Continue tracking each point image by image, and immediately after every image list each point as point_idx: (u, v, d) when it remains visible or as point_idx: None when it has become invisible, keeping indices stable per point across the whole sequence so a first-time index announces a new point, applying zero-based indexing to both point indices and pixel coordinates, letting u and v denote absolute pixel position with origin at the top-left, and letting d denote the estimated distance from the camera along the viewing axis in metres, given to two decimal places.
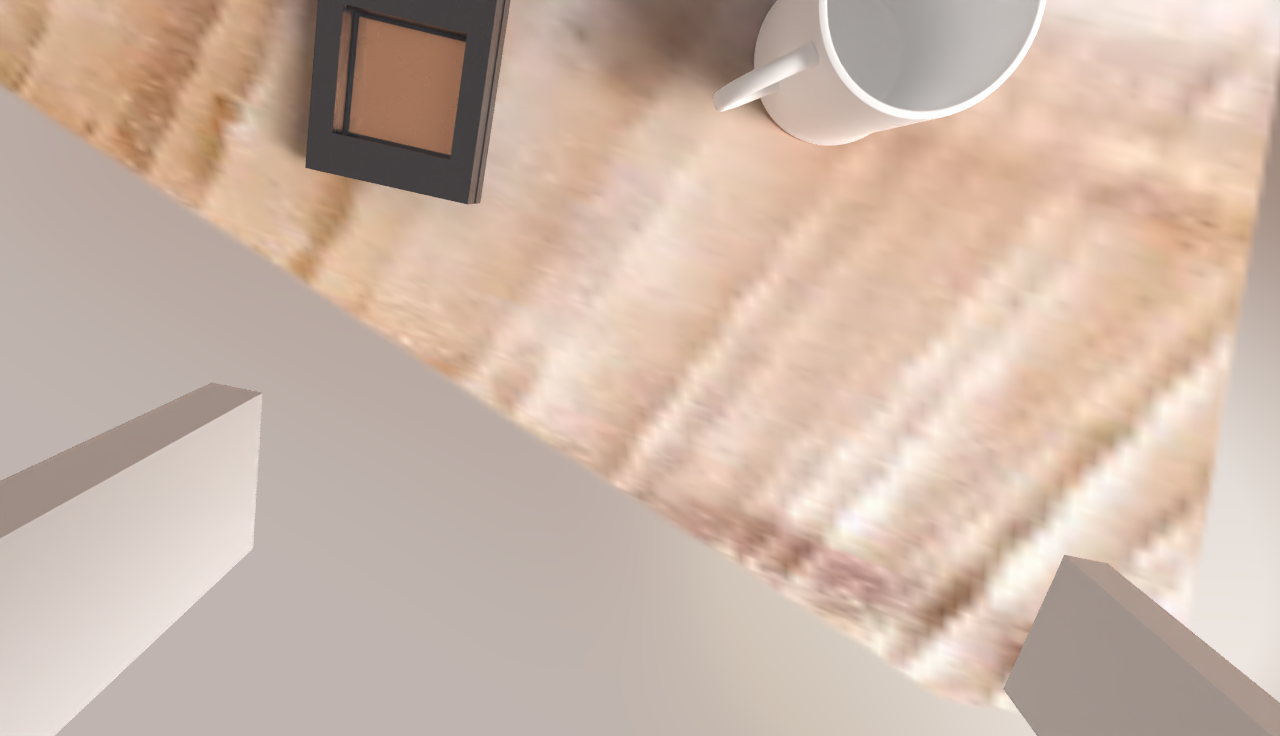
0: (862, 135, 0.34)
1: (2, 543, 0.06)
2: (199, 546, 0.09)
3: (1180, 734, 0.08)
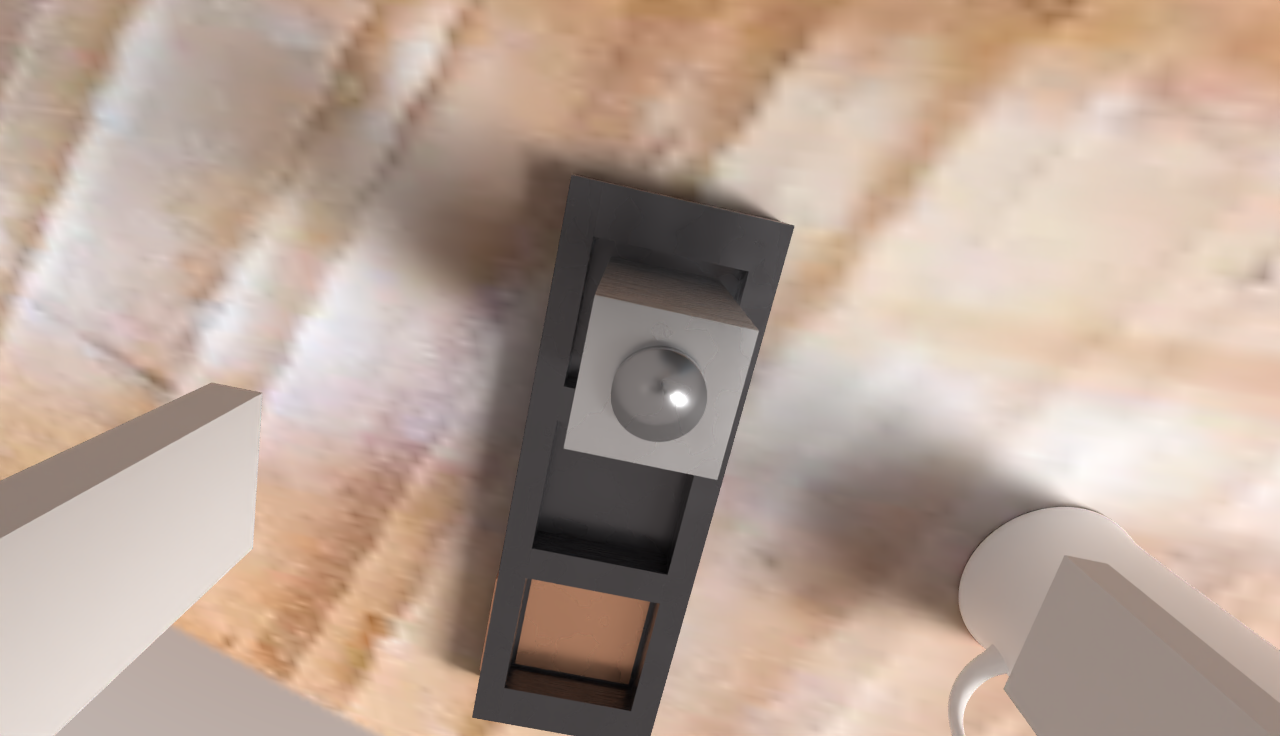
0: None
1: (2, 543, 0.06)
2: (199, 546, 0.09)
3: (1180, 734, 0.08)
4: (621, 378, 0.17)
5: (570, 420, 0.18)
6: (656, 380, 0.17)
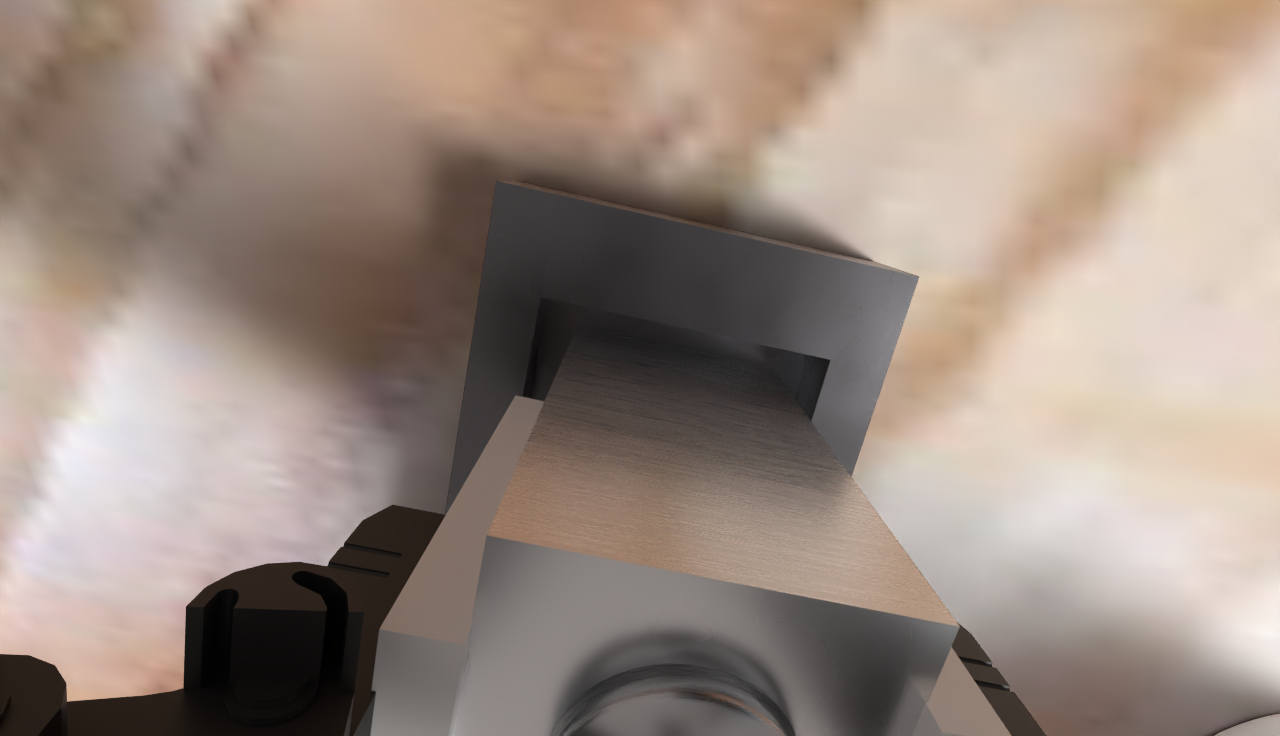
0: None
1: None
2: None
3: None
4: None
5: None
6: None
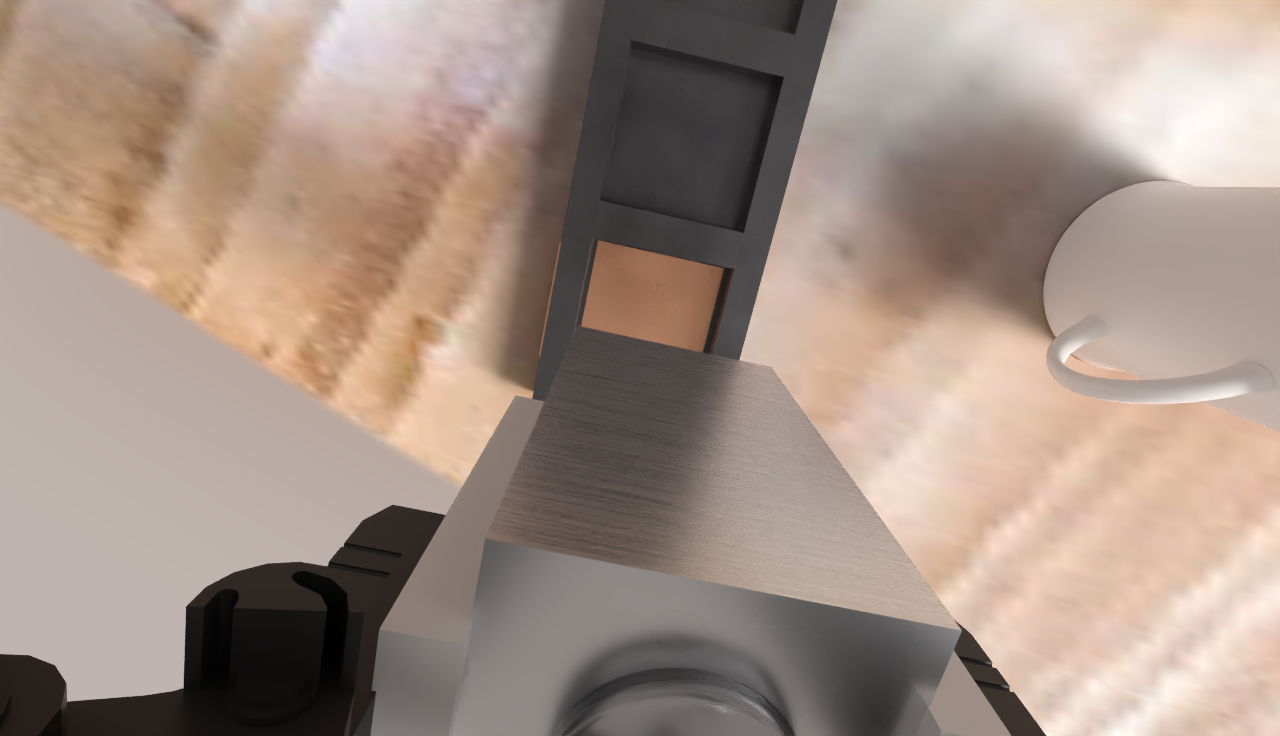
0: None
1: None
2: None
3: None
4: None
5: None
6: None
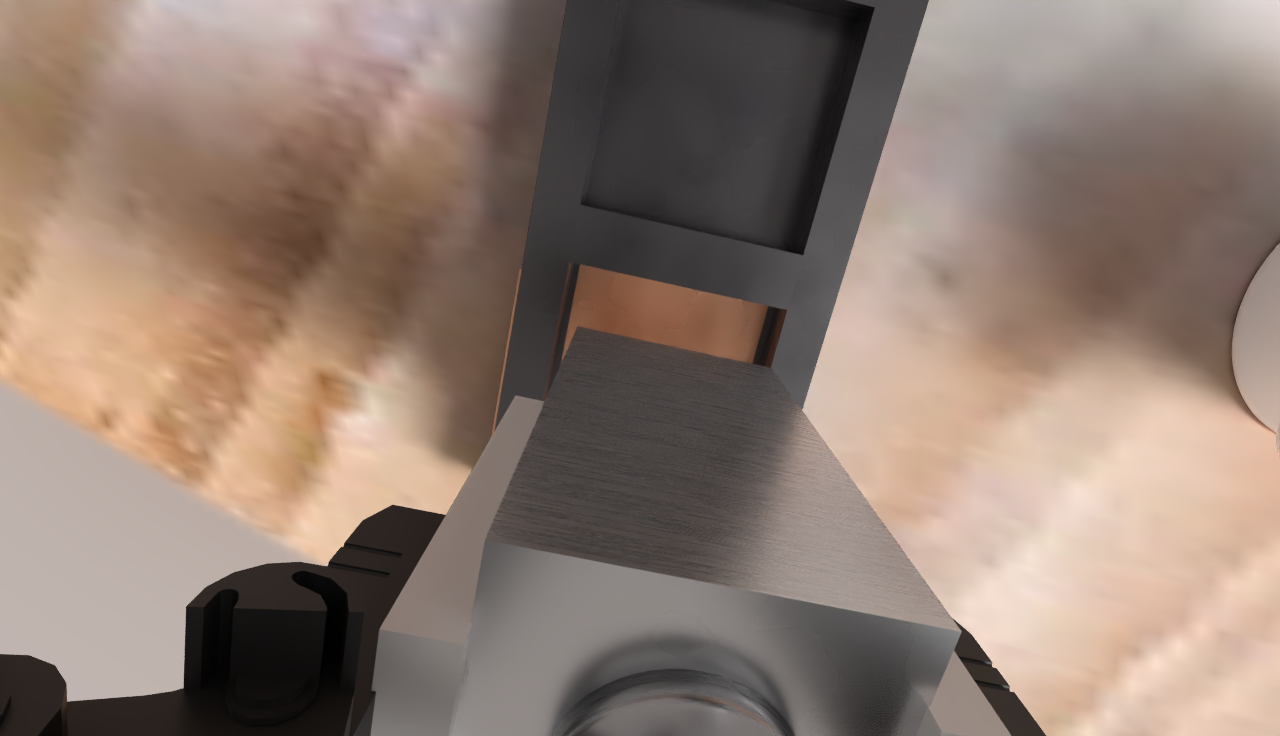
0: None
1: None
2: None
3: None
4: None
5: None
6: None
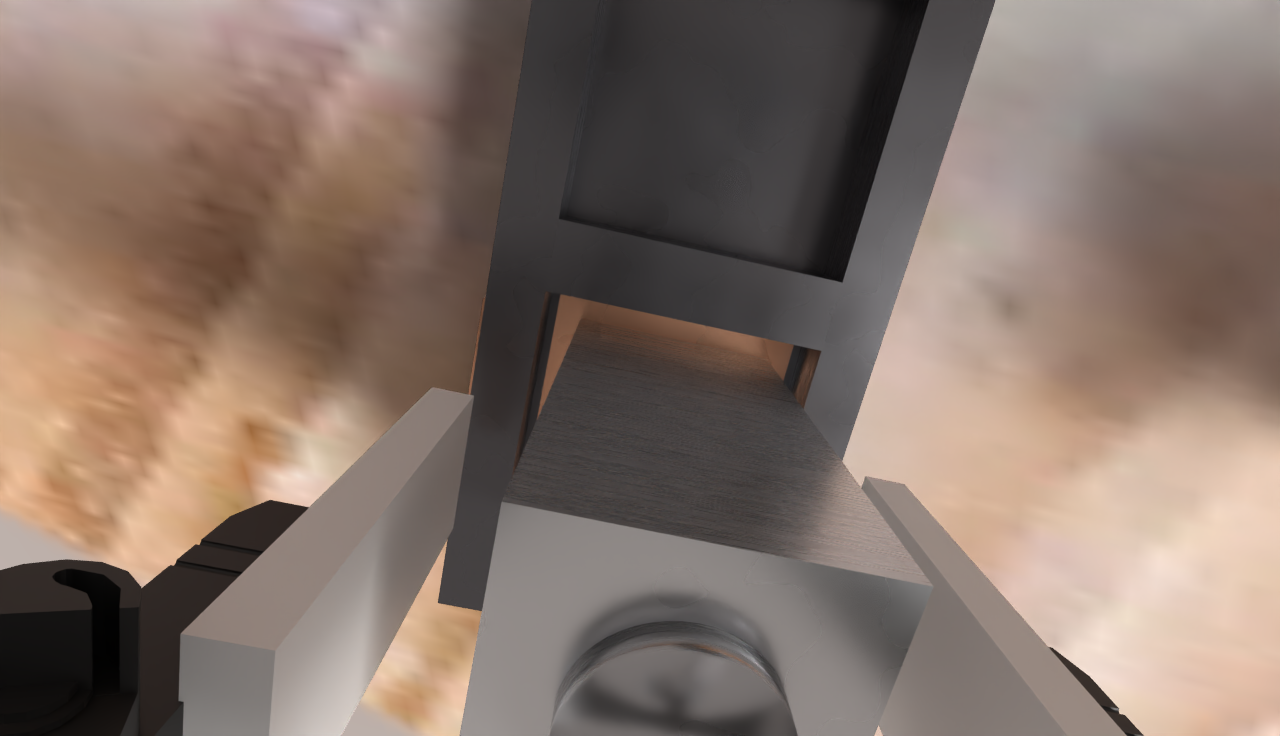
0: None
1: (387, 512, 0.07)
2: (438, 523, 0.11)
3: None
4: (576, 719, 0.06)
5: None
6: (667, 723, 0.07)
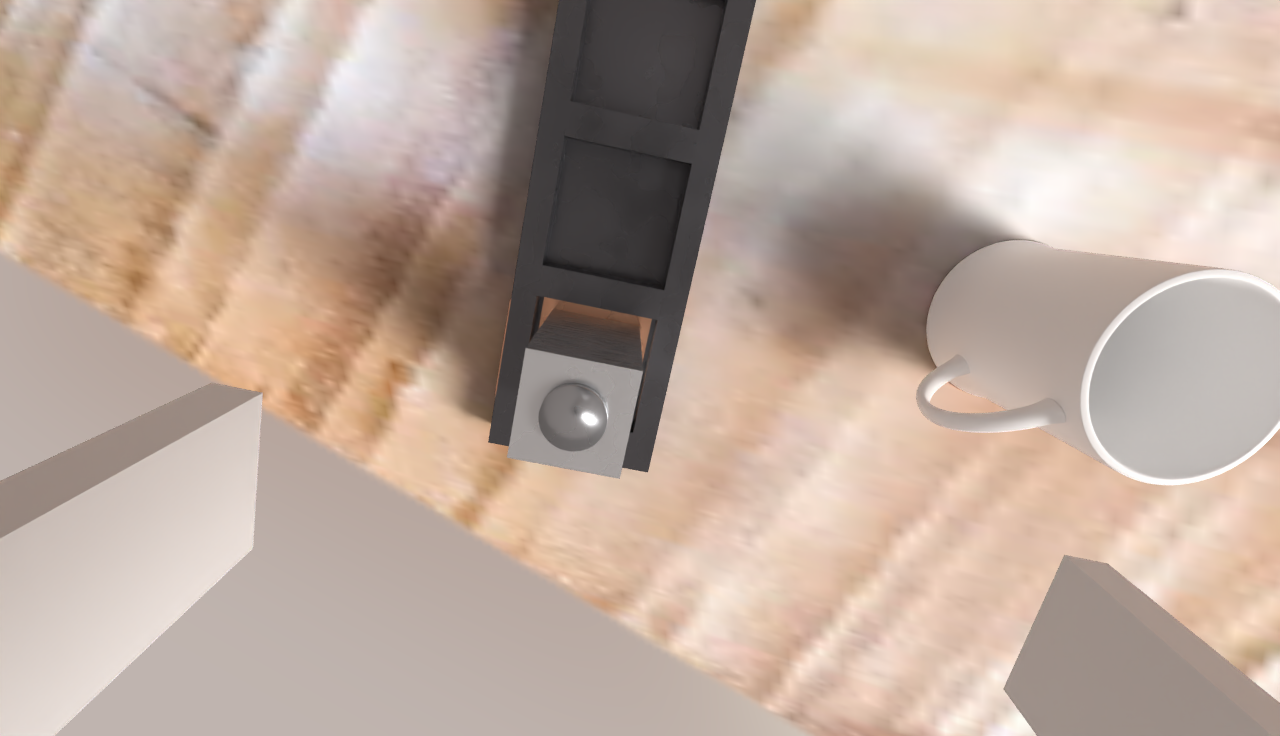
0: None
1: (2, 543, 0.06)
2: (199, 546, 0.09)
3: (1180, 734, 0.08)
4: (546, 406, 0.24)
5: (511, 437, 0.25)
6: (570, 407, 0.24)
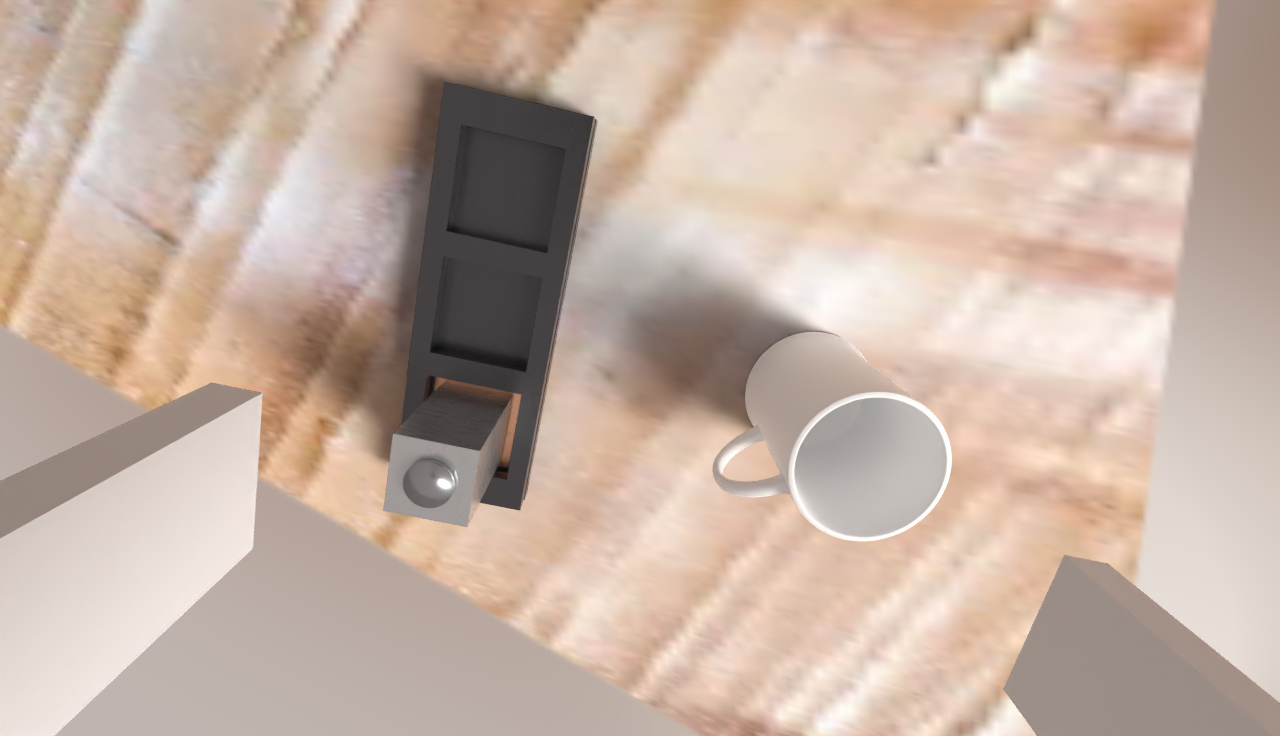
0: None
1: (2, 544, 0.06)
2: (199, 546, 0.09)
3: (1180, 734, 0.08)
4: (407, 476, 0.33)
5: (385, 496, 0.34)
6: (425, 477, 0.33)
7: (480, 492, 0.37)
